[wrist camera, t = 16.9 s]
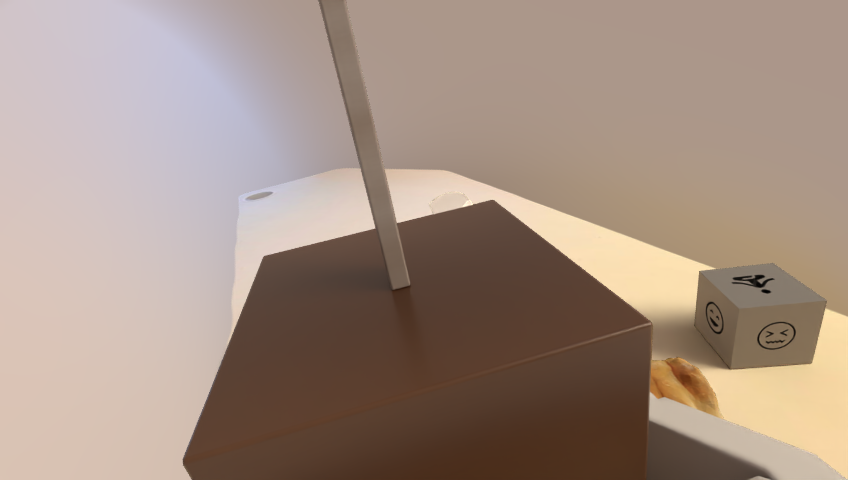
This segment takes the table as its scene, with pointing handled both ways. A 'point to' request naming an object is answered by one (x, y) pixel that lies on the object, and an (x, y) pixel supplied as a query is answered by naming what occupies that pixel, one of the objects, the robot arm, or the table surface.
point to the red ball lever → (425, 349)
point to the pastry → (683, 385)
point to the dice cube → (758, 316)
